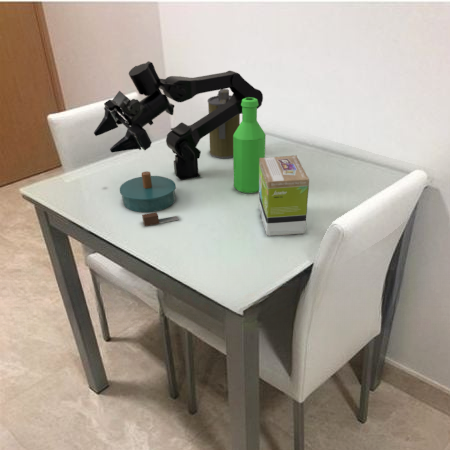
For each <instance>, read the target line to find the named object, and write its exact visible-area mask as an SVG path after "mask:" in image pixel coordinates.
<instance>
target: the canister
mask: <svg viewBox="0 0 450 450" xmlns="http://www.w3.org/2000/svg"><path fill="white" fill-rule="evenodd" d="M217 92H218V93H217V95H215V96H210V97H209V98H208V99H207V104H208V114H209V113H211V112H212V111H214V110H215V109H217V108H219V107H220V106H222V105H223V104H225V103H226V102H228V101H229V100H230V98H231V96H232V95H231V94H230V89H229V88H226V89H221V90H218V91H217ZM240 118H241V114H238V115H236V116H235V117H233V118H232V119H230V120H229V121H227V122H226V123H224V124H223V125H221V126H220V127H218V128H216V129H215V130H213V131H212V132H210V133H209V134H208V136H209V155H210V156H211V157H212V158H217V159H225V160H226V159H233V135H234V133H235V131H236V130H237V128H238V127H239V125H240V123H241V119H240Z"/></svg>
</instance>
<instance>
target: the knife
mask: <svg viewBox="0 0 450 450" xmlns="http://www.w3.org/2000/svg"><path fill="white" fill-rule="evenodd" d="M141 218H142V224H143V226H144V227H149V226H154V225H160V224H165V223H170V222H176V221H179V218H178V216H170V217H165V218H159V214H158V211H154V212H148V213H144V214H141Z"/></svg>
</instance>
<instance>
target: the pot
mask: <svg viewBox="0 0 450 450" xmlns="http://www.w3.org/2000/svg"><path fill="white" fill-rule="evenodd" d="M175 191H176V189H175V190H174V192H173V193H171V194H170V195H168V196H166V197H163V198H160V199H156V200H148V201H138V200H131V199H128V198H126V197H124V196H122V195H121V198H122V203H123V205H124V207H125V208H126V209H128V210H130V211H133V212H138V213H155V212H160V211H162V210H165V209H167V208H169V207H171V206H172V205H173V204H174V203H175V201H176V192H175Z"/></svg>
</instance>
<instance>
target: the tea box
mask: <svg viewBox="0 0 450 450" xmlns="http://www.w3.org/2000/svg"><path fill="white" fill-rule="evenodd" d="M309 189H310V177H308V175H307V173H306V171H305V169H304V167H303V165H302V164H301V162H300V160H299V158H298V156H297V155H284V156H283V155H282V156H271V157H268V156H267V157H265V158H260V159H259V191H258V210H259V213H260V217H261V220H262V224H263V228H264V229H265V234H266V236H267V237H272V236H273V237H274V236H286V235H298V234H301V235H303V234H305V233H306V228H307V227H306V226H307V214H308V202H309Z"/></svg>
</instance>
